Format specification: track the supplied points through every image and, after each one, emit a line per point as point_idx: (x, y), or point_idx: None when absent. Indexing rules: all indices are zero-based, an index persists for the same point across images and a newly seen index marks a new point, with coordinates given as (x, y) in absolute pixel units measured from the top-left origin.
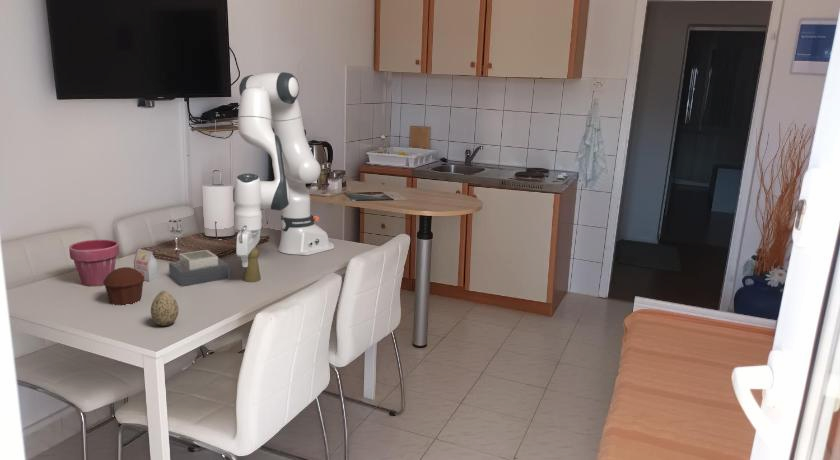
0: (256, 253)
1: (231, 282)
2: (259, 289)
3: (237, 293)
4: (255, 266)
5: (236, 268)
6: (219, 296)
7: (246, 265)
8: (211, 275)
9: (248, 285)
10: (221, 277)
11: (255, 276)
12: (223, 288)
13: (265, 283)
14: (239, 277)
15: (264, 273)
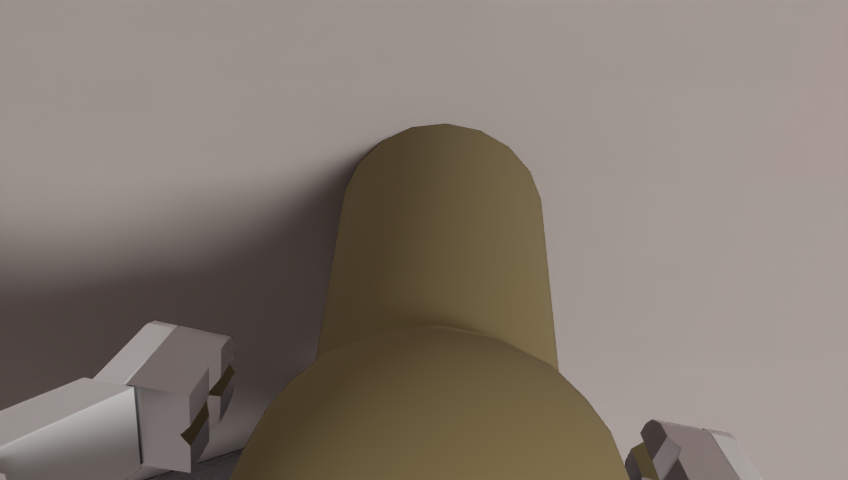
0: (599, 472)
1: None
2: (828, 145)
3: (838, 349)
4: (536, 276)
5: (87, 351)
6: (837, 463)
7: (732, 459)
8: None
9: (637, 256)
10: None
11: (536, 209)
12: None
13: (628, 66)
14: None
15: (220, 71)
